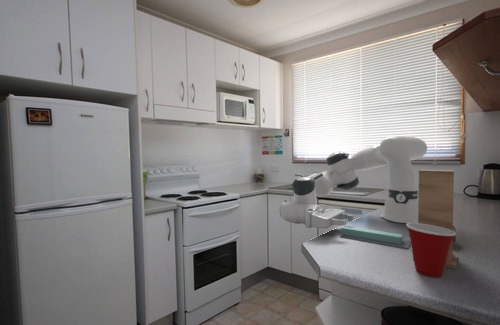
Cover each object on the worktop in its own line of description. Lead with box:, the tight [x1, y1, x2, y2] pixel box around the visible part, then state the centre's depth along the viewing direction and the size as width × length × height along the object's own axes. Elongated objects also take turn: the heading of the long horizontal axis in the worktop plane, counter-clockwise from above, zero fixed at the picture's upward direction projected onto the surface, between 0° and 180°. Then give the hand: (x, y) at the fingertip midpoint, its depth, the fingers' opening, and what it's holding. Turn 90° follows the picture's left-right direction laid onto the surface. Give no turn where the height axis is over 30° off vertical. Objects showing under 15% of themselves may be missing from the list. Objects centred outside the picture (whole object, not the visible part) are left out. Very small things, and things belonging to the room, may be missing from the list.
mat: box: [339, 234, 411, 250], centre depth 98 cm, size 9×22×1 cm, turn 53°
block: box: [340, 225, 404, 244], centre depth 99 cm, size 4×20×2 cm, turn 53°
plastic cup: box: [406, 223, 457, 278], centre depth 70 cm, size 11×11×12 cm
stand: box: [412, 168, 458, 270], centre depth 79 cm, size 11×10×26 cm
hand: (349, 220), depth 103 cm, fingers open, 8 cm apart
